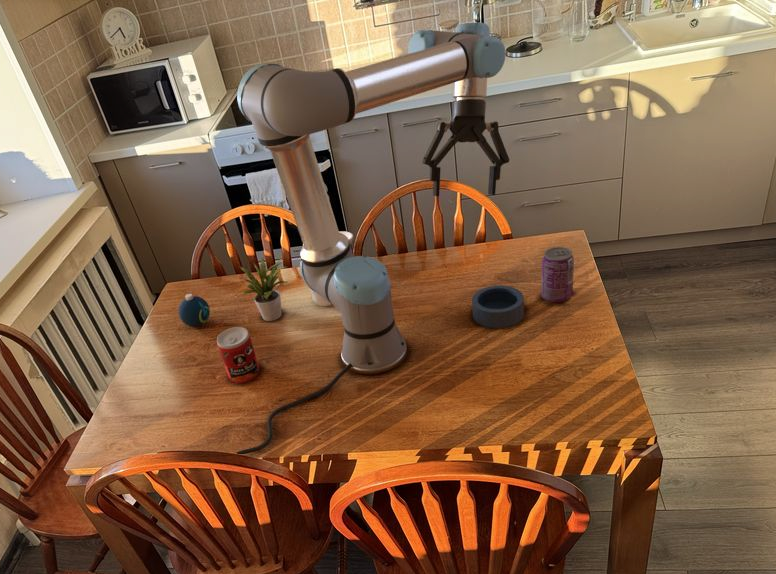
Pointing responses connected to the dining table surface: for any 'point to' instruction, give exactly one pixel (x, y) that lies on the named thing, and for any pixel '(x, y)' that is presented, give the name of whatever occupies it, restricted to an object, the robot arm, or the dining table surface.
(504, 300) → the dark grey bowl
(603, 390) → the dining table surface
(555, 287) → the beverage can
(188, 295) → the christmas ornament
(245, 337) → the canned food
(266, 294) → the house plant
